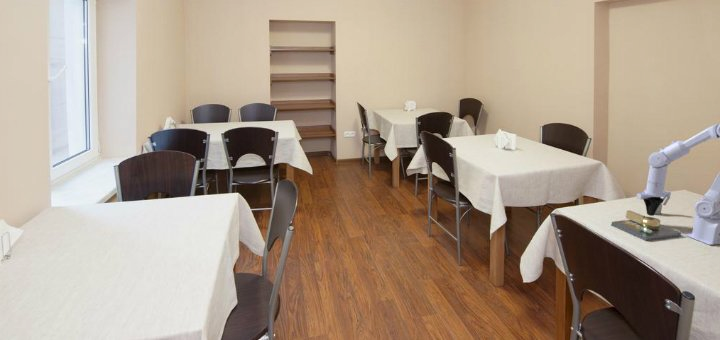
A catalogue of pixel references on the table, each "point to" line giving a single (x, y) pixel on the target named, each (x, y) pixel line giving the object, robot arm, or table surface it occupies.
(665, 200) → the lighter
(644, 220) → the gold elongated piece
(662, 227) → the base plate
